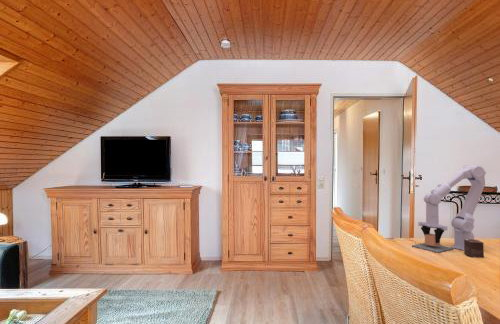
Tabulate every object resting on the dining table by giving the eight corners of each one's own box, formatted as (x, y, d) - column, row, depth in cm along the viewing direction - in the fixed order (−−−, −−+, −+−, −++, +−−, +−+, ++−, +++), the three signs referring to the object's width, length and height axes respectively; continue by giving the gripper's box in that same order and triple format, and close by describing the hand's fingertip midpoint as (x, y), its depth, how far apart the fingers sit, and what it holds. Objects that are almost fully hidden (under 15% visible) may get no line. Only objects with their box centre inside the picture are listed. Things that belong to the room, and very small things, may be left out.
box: (484, 258, 150) (484, 242, 150) (469, 257, 151) (469, 241, 151) (477, 254, 155) (477, 239, 156) (463, 253, 157) (463, 238, 157)
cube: (430, 242, 170) (430, 233, 170) (439, 244, 166) (439, 235, 166) (424, 244, 168) (424, 234, 168) (434, 246, 164) (434, 236, 164)
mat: (427, 243, 177) (427, 242, 177) (453, 249, 164) (453, 248, 164) (411, 246, 170) (411, 245, 170) (437, 253, 158) (437, 251, 158)
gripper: (414, 214, 172) (414, 239, 172) (441, 218, 159) (441, 245, 159) (422, 213, 175) (423, 238, 175) (449, 217, 162) (449, 243, 162)
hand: (432, 241), depth 167 cm, fingers closed on cube, 5 cm apart
